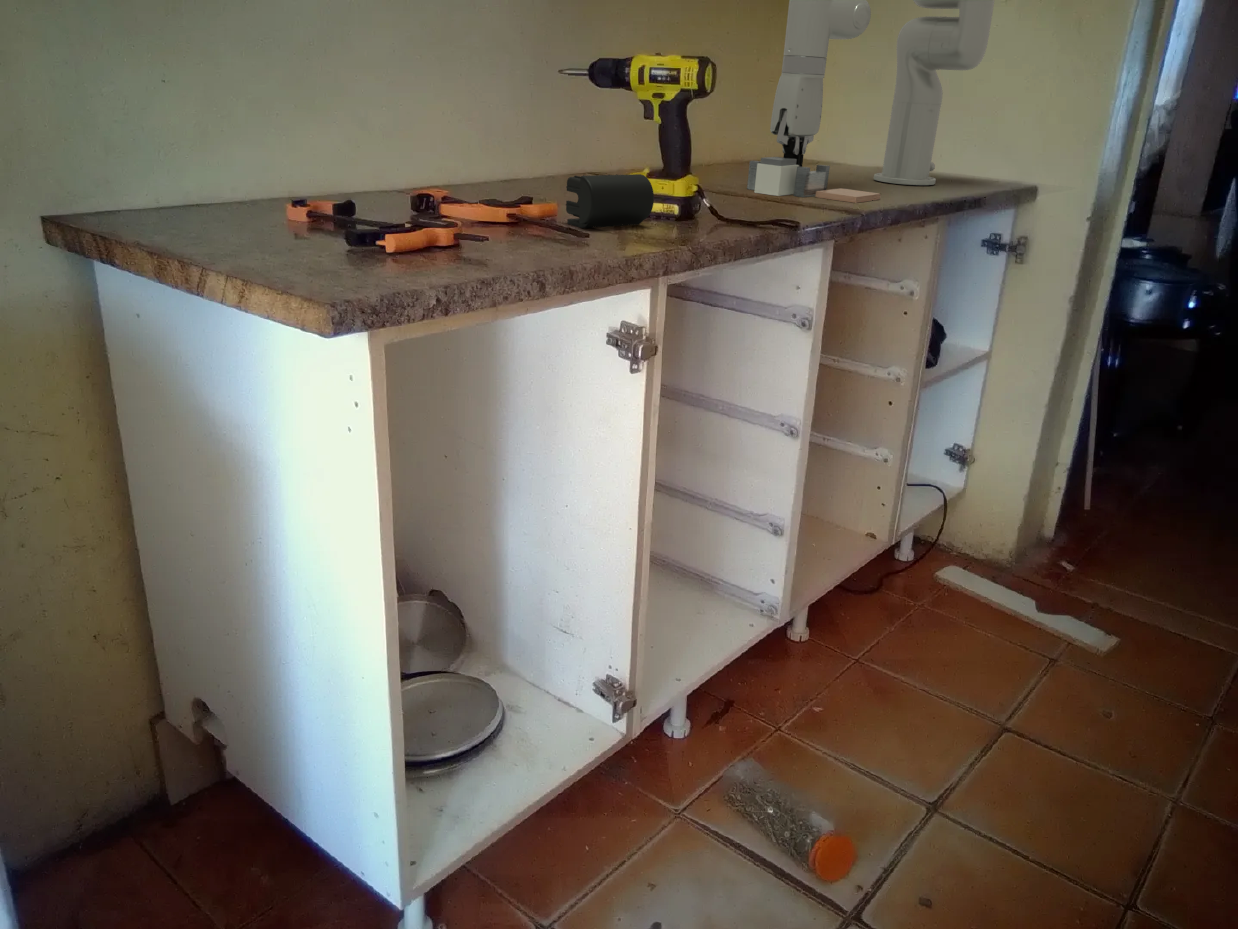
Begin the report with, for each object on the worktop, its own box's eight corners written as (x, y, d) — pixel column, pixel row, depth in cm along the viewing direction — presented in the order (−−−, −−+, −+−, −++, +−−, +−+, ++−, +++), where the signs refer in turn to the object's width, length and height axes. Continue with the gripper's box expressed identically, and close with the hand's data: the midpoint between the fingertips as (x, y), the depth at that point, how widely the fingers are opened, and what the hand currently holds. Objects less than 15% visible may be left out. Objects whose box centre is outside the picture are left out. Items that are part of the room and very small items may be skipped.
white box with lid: (772, 190, 174) (776, 156, 172) (795, 193, 171) (799, 159, 169) (754, 192, 170) (757, 157, 168) (778, 195, 167) (782, 160, 165)
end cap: (591, 232, 123) (593, 178, 120) (562, 223, 128) (564, 171, 125) (653, 228, 128) (656, 176, 126) (623, 220, 133) (625, 170, 131)
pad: (840, 193, 175) (841, 188, 174) (879, 199, 170) (880, 193, 170) (815, 196, 168) (816, 191, 168) (855, 202, 164) (856, 196, 163)
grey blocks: (770, 186, 180) (773, 158, 178) (826, 194, 173) (829, 165, 171) (746, 188, 174) (749, 160, 172) (803, 197, 167) (806, 167, 165)
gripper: (807, 68, 174) (795, 172, 181) (762, 65, 163) (751, 176, 170) (843, 70, 169) (829, 176, 176) (799, 67, 159) (786, 181, 166)
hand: (791, 176), depth 173 cm, fingers closed
